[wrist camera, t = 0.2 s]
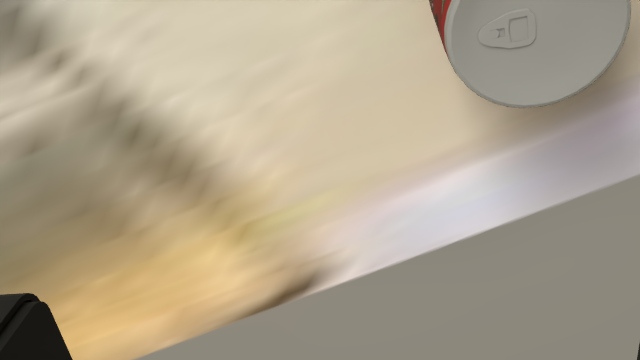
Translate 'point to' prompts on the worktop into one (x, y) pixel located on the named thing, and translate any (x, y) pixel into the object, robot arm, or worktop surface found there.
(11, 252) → the worktop surface
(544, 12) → the canned food
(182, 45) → the worktop surface
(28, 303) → the robot arm
